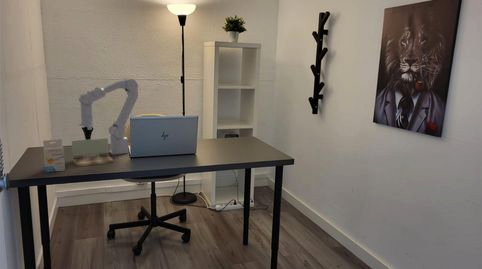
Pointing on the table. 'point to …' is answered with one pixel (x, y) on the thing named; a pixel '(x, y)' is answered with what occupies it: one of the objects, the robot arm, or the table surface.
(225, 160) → the table surface
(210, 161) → the table surface
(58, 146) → the ink box
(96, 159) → the base leaf
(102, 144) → the hinge leaf
